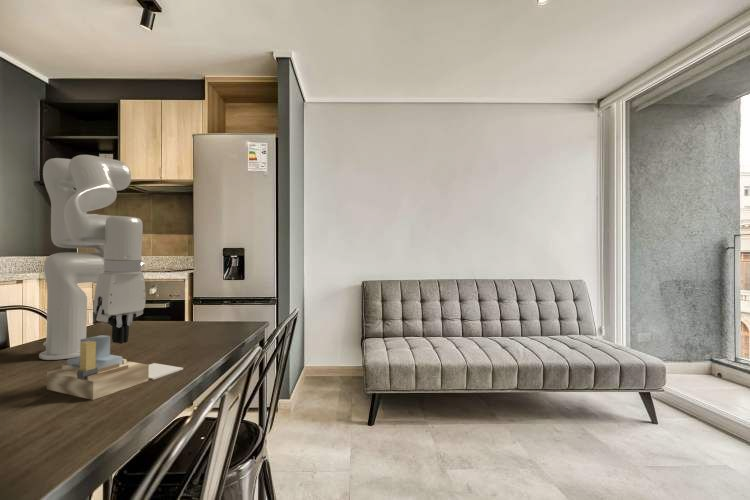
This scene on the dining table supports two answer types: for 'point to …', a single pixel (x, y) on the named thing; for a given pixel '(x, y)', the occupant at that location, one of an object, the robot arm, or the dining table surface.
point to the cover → (100, 352)
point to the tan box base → (97, 379)
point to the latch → (86, 360)
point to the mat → (161, 370)
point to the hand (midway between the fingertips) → (120, 342)
